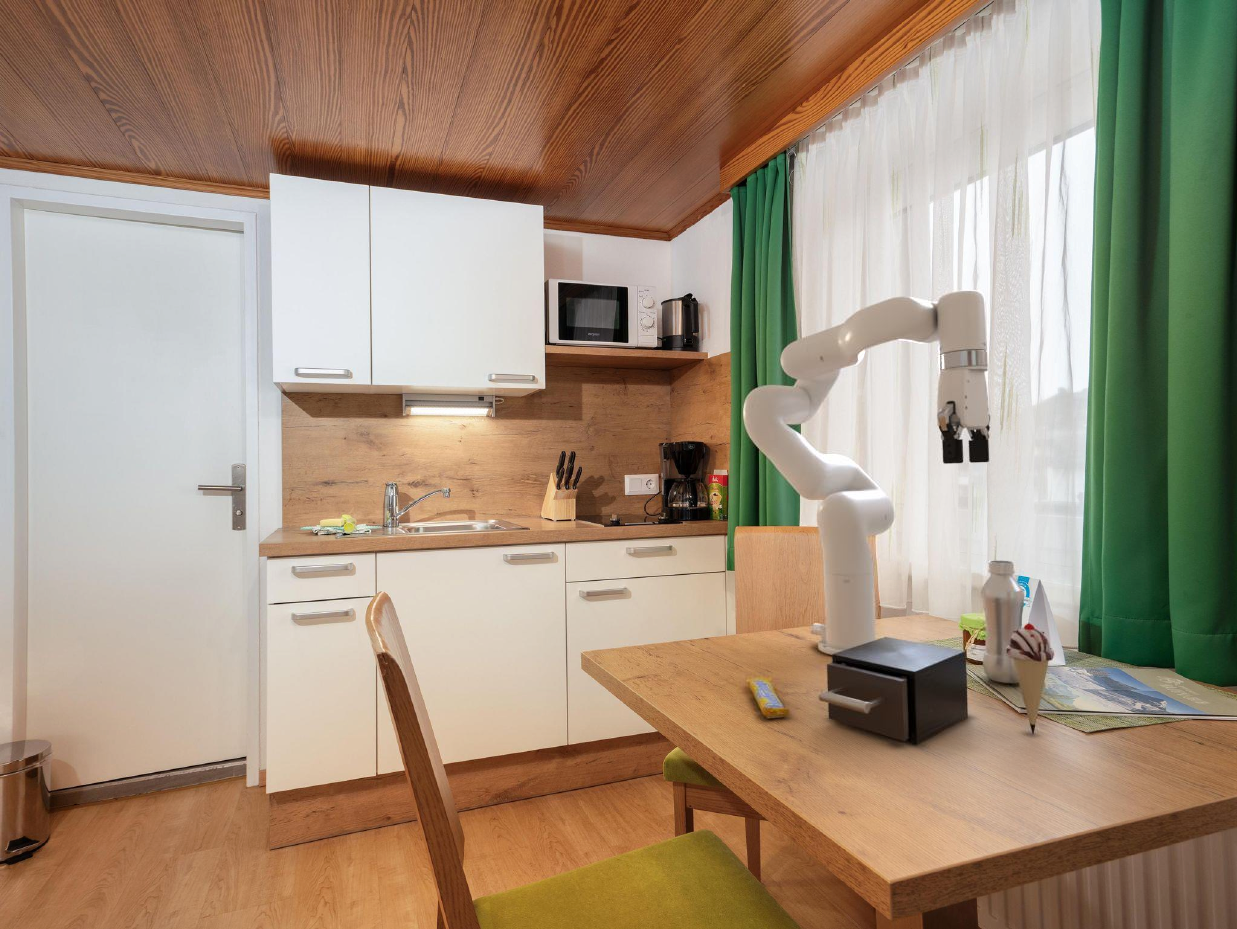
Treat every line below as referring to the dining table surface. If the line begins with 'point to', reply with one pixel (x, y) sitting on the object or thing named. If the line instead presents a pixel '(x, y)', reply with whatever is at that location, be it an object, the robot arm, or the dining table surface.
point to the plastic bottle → (1001, 620)
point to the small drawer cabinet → (920, 680)
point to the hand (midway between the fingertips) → (966, 462)
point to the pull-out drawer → (869, 699)
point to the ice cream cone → (1030, 666)
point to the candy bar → (766, 697)
